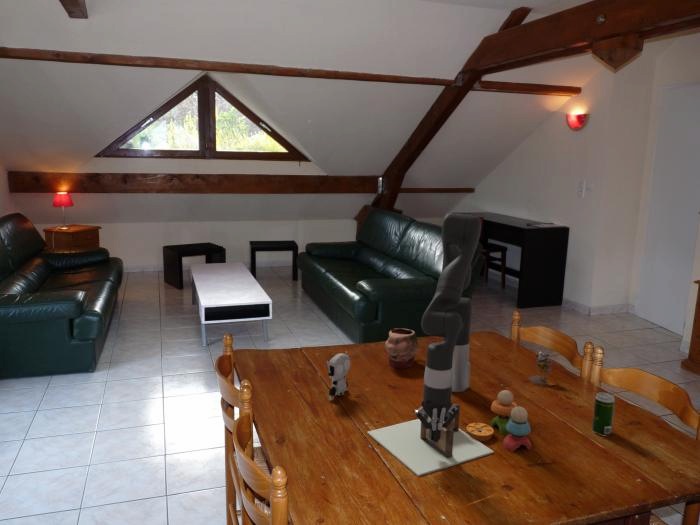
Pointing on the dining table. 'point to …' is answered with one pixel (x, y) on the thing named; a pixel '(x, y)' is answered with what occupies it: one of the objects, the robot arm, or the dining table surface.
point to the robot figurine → (541, 369)
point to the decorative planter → (401, 348)
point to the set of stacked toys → (505, 423)
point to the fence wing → (444, 440)
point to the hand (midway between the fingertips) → (434, 440)
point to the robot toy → (338, 374)
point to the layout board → (426, 447)
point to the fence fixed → (453, 425)
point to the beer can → (603, 413)
